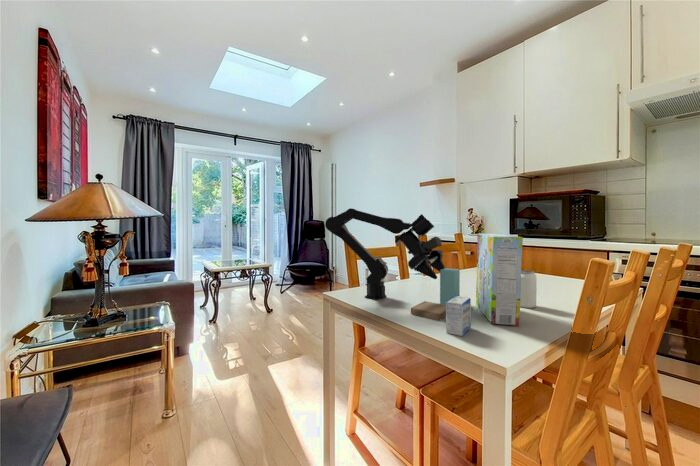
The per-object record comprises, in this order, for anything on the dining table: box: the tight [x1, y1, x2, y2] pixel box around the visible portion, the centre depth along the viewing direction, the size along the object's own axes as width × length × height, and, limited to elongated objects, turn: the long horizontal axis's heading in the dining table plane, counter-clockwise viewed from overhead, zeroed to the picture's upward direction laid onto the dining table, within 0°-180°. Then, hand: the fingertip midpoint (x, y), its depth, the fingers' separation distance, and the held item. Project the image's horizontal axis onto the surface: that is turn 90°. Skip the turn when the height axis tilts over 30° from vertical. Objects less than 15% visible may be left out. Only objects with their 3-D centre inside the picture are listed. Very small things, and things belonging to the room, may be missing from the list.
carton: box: [439, 267, 461, 305], centre depth 105 cm, size 5×5×13 cm
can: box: [520, 269, 538, 309], centre depth 104 cm, size 6×6×12 cm
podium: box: [410, 300, 446, 321], centre depth 98 cm, size 10×10×2 cm
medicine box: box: [445, 296, 472, 337], centre depth 82 cm, size 8×4×9 cm, turn 143°
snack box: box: [475, 233, 524, 327], centre depth 95 cm, size 22×9×26 cm, turn 168°
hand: (441, 276), depth 107 cm, fingers open, 9 cm apart
